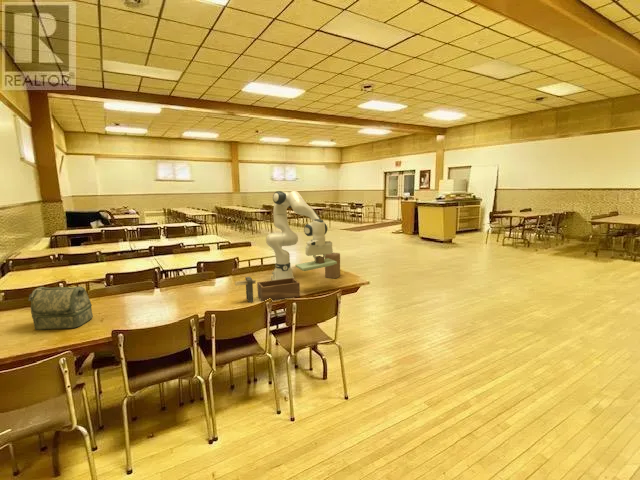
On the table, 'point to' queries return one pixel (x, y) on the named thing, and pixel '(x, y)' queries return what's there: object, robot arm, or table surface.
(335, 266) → the wooden block
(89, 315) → the lunch bag
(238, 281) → the bolt
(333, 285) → the table surface
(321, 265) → the lid
